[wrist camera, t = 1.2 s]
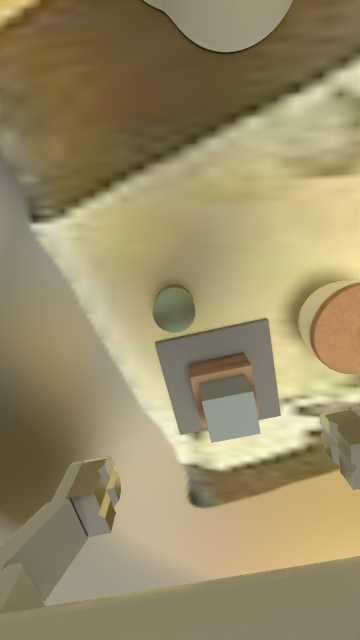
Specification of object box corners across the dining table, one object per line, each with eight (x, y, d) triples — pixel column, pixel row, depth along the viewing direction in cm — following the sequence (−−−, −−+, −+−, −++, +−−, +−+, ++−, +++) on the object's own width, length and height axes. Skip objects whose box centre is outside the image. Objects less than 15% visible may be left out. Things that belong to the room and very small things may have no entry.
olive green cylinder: (152, 289, 34) (148, 297, 29) (188, 281, 33) (190, 287, 29) (161, 323, 35) (158, 336, 30) (196, 316, 35) (198, 327, 30)
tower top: (199, 382, 32) (201, 401, 29) (244, 373, 32) (253, 391, 28) (207, 420, 34) (211, 442, 30) (251, 412, 34) (260, 433, 30)
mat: (155, 342, 36) (155, 344, 35) (266, 318, 35) (268, 320, 34) (180, 431, 41) (180, 434, 40) (278, 412, 40) (280, 415, 39)
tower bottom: (188, 363, 36) (189, 377, 32) (243, 352, 36) (251, 365, 32) (199, 409, 38) (202, 427, 35) (251, 399, 38) (259, 416, 34)
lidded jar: (344, 354, 37) (398, 390, 28) (275, 340, 36) (307, 372, 27) (376, 283, 34) (448, 297, 25) (301, 266, 33) (347, 274, 24)
